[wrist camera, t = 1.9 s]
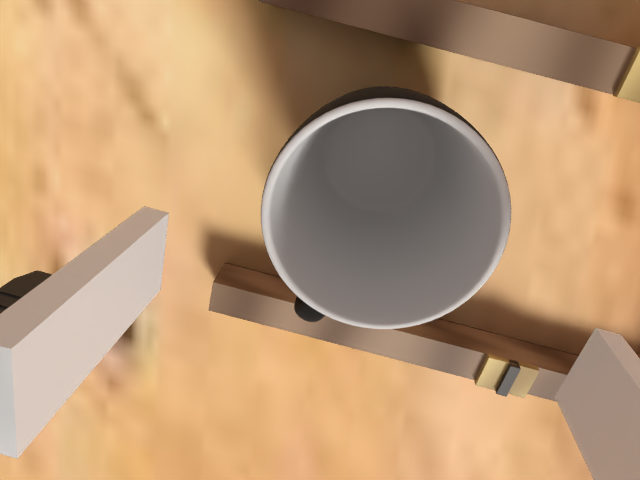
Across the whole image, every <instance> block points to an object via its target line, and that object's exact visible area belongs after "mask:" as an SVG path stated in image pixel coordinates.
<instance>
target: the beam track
mask: <svg viewBox="0 0 640 480" xmlns="http://www.w3.org/2000/svg"><path fill="white" fill-rule="evenodd" d="M259 1H260V2H264V3H267V4H271V5H275V6H279V7H283V8H286V9H290V10H294V11H298V12H302V13H305V14H309V15H313V16H317V17H321V18H324V19H328V20H332V21H336V22H339V23H343V24H347V25H351V26H355V27H358V28H362V29H366V30H370V31H374V32H377V33H381V34H385V35H389V36H393V37H396V38H400V39H404V40H408V41H412V42H415V43H419V44H423V45H427V46H431V47H434V48H438V49H442V50H446V51H450V52H453V53H457V54H461V55H465V56H469V57H472V58H476V59H480V60H484V61H488V62H491V63H495V64H499V65H503V66H507V67H510V68H514V69H518V70H522V71H526V72H529V73H533V74H537V75H541V76H545V77H548V78H552V79H556V80H560V81H564V82H567V83H571V84H575V85H579V86H583V87H586V88H590V89H594V90H598V91H602V92H605V93H609V94H613V96H616V97H619V98H623V99H627V100H631V101H635V102H638V103H640V47H637V48H634V47H630V46H626V45H623V44H619V43H615V42H611V41H607V40H604V39H600V38H596V37H592V36H588V35H585V34H581V33H577V32H573V31H569V30H566V29H562V28H558V27H554V26H550V25H547V24H543V23H539V22H535V21H531V20H528V19H524V18H520V17H516V16H512V15H509V14H505V13H501V12H497V11H493V10H490V9H486V8H482V7H478V6H475V5H471V4H467V3H463V2H459V1H456V0H259ZM296 297H297V295H296V294H295V293H294V292H293V291H292V290H291V289H290V288H289V287H288V286H287V285H286V283H285V282H284V281H283V280H282V278H281V277H277V276H273V275H269V274H266V273H262V272H258V271H254V270H250V269H247V268H243V267H239V266H235V265H231V264H228V263H225V264H224V266H223V268H222V269H221V271H220V272H219V274H218V275H217V277H216V279H215V280H214V282H213V286H212V292H211V298H210V305H209V311H213V312H217V313H221V314H225V315H228V316H232V317H236V318H240V319H244V320H247V321H251V322H255V323H259V324H263V325H267V326H270V327H274V328H278V329H282V330H286V331H289V332H293V333H297V334H301V335H305V336H309V337H312V338H316V339H320V340H324V341H328V342H331V343H335V344H339V345H343V346H347V347H350V348H354V349H358V350H362V351H366V352H370V353H373V354H377V355H381V356H385V357H389V358H392V359H396V360H400V361H404V362H408V363H411V364H415V365H419V366H423V367H427V368H431V369H434V370H438V371H442V372H446V373H450V374H453V375H457V376H461V377H465V378H469V379H473V380H475V384H476V385H477V386H480V387H484V388H488V389H492V390H495V391H496V394H499V395H502V396H507V394H511V395H515V396H519V397H522V398H525V397H526V395H527V394H530V395H534V396H537V397H541V398H545V399H549V400H553V401H556V402H557V400H556V398H555V395H556V393H557V392H558V390H559V388H560V387H561V385H562V383H563V381H564V380H565V378H566V376H567V375H568V373H569V371H570V370H571V368H572V366H573V365H574V363H575V361H576V360H577V358H578V355H574V354H571V353H567V352H563V351H559V350H555V349H551V348H548V347H544V346H540V345H536V344H532V343H529V342H525V341H521V340H517V339H513V338H510V337H506V336H502V335H498V334H494V333H491V332H487V331H483V330H479V329H475V328H471V327H468V326H464V325H460V324H456V323H452V322H449V321H445V320H441V319H434V320H432V321H429V322H426V323H423V324H419V325H415V326H411V327H405V328H397V329H372V328H364V327H358V326H353V325H350V324H346V323H343V322H340V321H337V320H335V319H332V318H330V317H328V316H326V315H325V316H324V317H323V318H322V319H321V320H319V321H317V322H308V321H305V320H303V319H301V318H300V317H299V316H298V315H297V314H296V313H295V310H294V305H295V300H296Z"/></svg>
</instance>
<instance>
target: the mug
mask: <svg viewBox="0 0 640 480" xmlns="http://www.w3.org/2000/svg"><path fill="white" fill-rule="evenodd" d="M510 223H511V201H510V193H509V189H508V184H507V180H506V177H505V174H504V171H503V169H502V167H501V164H500V162H499V160H498V158H497V157H496V155H495V153H494V152H493V150H492V148H491V147H490V146H489V144H488V143H487V142H486V140H485V139H484V138H483V137H482V135H481V134H480V133H479V132H478V131H477V130H476V129H475V128H474V127H473V126H472V125H471V124H470V123H469V122H468V121H466V120H465V119H464V118H463V117H462V116H461V115H459V114H458V113H457V112H455V111H454V110H452V109H451V108H449V107H448V106H446V105H445V104H443V103H441V102H439V101H437V100H435V99H433V98H431V97H429V96H426V95H424V94H421V93H419V92H415V91H412V90H408V89H403V88H398V87H372V88H365V89H361V90H357V91H354V92H351V93H348V94H346V95H344V96H342V97H339V98H337V99H335V100H334V101H332V102H330V103H328V104H327V105H325V106H324V107H322V108H321V109H320V110H318V111H317V112H315V113H314V114H313V115H312V116H311V117H309V118H308V119H307V120H306V121H305V122H304V123H303V124H302V125H301V126H300V127H299V128H298V129H297V130H296V131H295V132H294V133H293V134H292V136H291V137H290V138H289V139H288V141H287V142H286V143H285V145H284V146H283V147H282V149H281V150H280V152H279V154H278V156H277V157H276V159H275V161H274V163H273V165H272V167H271V169H270V171H269V174H268V177H267V180H266V183H265V186H264V191H263V196H262V204H261V226H262V233H263V238H264V243H265V246H266V249H267V252H268V255H269V257H270V259H271V262H272V263H273V265H274V267H275V269H276V271H277V272H278V274H279V275H280V277H281V278H282V280H283V281H284V282H285V283H286V285H287V286H288V287H289V288H290V289H291V290H292V291H293V292H294V293H295V294H296V295H297V297H296V300H295V305H294V310H295V313H296V314H297V315H298V316H299V317H300V318H301V319H303V320H305V321H308V322H317V321H319V320H321V319H322V318H323V317H324V316H325V315H326V316H328V317H330V318H332V319H335V320H337V321H340V322H343V323H346V324H350V325H353V326H358V327H364V328H372V329H397V328H405V327H411V326H415V325H419V324H423V323H426V322H429V321H432V320H434V319H437V318H439V317H441V316H443V315H445V314H447V313H449V312H451V311H453V310H454V309H456V308H457V307H459V306H460V305H462V304H463V303H464V302H466V301H467V300H468V299H470V298H471V297H472V296H473V295H474V294H475V293H476V292H477V291H478V290H479V289H480V288H481V287H482V286H483V285H484V284H485V282H486V281H487V280H488V278H489V277H490V276H491V274H492V273H493V271H494V270H495V268H496V266H497V265H498V263H499V261H500V259H501V256H502V254H503V252H504V249H505V246H506V243H507V239H508V235H509V231H510Z"/></svg>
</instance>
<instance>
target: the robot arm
mask: <svg viewBox="0 0 640 480" xmlns="http://www.w3.org/2000/svg"><path fill="white" fill-rule="evenodd" d="M168 216H169V213H168V212H164V211H160V210H156V209H153V208H149V207H145V206H144V207H142V208H141V209H140V210H138V211H137V212H136V213H134V214H133V215H132V216H130V217H129V218H128V219H126V220H125V221H124V222H122V223H121V224H120V225H118V226H117V227H116V228H114V229H113V230H112V231H110V232H109V233H108V234H106V235H105V236H104V237H102V238H101V239H100V240H98V241H97V242H96V243H94V244H93V245H92V246H90V247H89V248H88V249H86V250H85V251H84V252H82V253H81V254H80V255H78V256H77V257H76V258H74V259H73V260H72V261H70V262H69V263H68V264H66V265H65V266H63V267H62V268H61V269H59V270H58V271H57V272H55V273H54V274H53V275H52V274H48V273H45V272H41V271H34V272H32V273H29V274H26V275H23V276H20V277H17V278H14V279H13V280H11V281H10V282H8V283H7V284H5V285H4V286H2V287H1V288H0V454H3V455H6V456H10V457H14V458H18V457H19V456H20V455H21V454H22V453H23V451H24V450H25V449H26V448H27V447H28V445H29V444H30V443H31V442H32V441H33V440H34V438H35V437H36V436H37V435H38V434H39V433H40V431H41V430H42V429H43V428H44V427H45V425H46V424H47V423H48V422H49V421H50V420H51V418H52V417H53V416H54V415H55V414H56V412H57V411H58V410H59V409H60V408H61V407H62V405H63V404H64V403H65V402H66V401H67V399H68V398H69V397H70V396H71V395H72V394H73V392H74V391H75V390H76V389H77V388H78V387H79V385H80V384H81V383H82V382H83V381H84V379H85V378H86V377H87V376H88V375H89V374H90V372H91V371H92V370H93V369H94V368H95V366H96V365H97V364H98V363H99V362H100V361H101V359H102V358H103V357H104V356H105V355H106V353H107V352H108V351H109V350H110V349H111V348H112V346H113V345H114V344H115V343H116V342H117V341H118V339H119V338H120V337H121V336H122V335H123V333H124V332H125V331H126V330H127V329H128V328H129V326H130V325H131V324H132V323H133V322H134V320H135V319H136V318H137V317H138V316H139V315H140V313H141V312H142V311H143V310H144V309H145V307H146V306H147V305H148V304H149V303H150V302H151V300H152V299H153V298H154V297H155V296H156V295H157V293H158V292H159V291H160V290H161V282H162V272H163V263H164V253H165V244H166V235H167V225H168ZM555 398H556V400H557V402H558V405H559V407H560V409H561V411H562V413H563V415H564V417H565V419H566V422H567V424H568V426H569V428H570V430H571V432H572V434H573V436H574V439H575V441H576V443H577V445H578V447H579V449H580V451H581V453H582V456H583V458H584V460H585V462H586V464H587V466H588V468H589V471H590V473H591V475H592V477H593V479H594V480H640V358H639V357H638V356H637V354H636V353H635V352H634V351H633V349H632V348H631V347H630V346H629V344H628V343H627V342H626V340H625V339H624V338H623V337H622V335H621V334H618V333H614V332H610V331H606V330H603V329H599V328H595V329H594V331H593V333H592V335H591V336H590V338H589V340H588V341H587V343H586V345H585V346H584V348H583V350H582V351H581V353H580V355H579V356H578V358H577V360H576V361H575V363H574V365H573V366H572V368H571V370H570V371H569V373H568V375H567V376H566V378H565V380H564V381H563V383H562V385H561V387H560V388H559V390H558V392H557V393H556V395H555Z"/></svg>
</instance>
